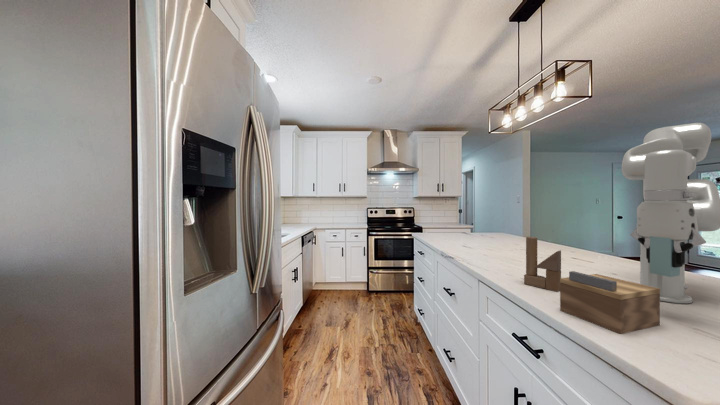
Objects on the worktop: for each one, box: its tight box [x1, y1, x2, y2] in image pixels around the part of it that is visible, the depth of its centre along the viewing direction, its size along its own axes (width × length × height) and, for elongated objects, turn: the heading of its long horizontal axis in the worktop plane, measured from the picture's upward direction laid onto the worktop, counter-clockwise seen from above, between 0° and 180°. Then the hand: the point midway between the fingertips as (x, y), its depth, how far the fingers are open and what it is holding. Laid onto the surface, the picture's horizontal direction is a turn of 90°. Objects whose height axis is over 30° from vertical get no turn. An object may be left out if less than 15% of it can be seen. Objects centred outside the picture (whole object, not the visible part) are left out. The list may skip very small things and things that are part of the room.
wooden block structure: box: [523, 236, 562, 293], centre depth 96 cm, size 4×11×18 cm, turn 35°
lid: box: [560, 270, 660, 300], centre depth 71 cm, size 15×14×4 cm
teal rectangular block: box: [650, 236, 680, 277], centre depth 71 cm, size 4×4×12 cm
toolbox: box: [559, 283, 661, 335], centre depth 71 cm, size 15×14×8 cm
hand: (664, 263), depth 71 cm, fingers closed on teal rectangular block, 4 cm apart
